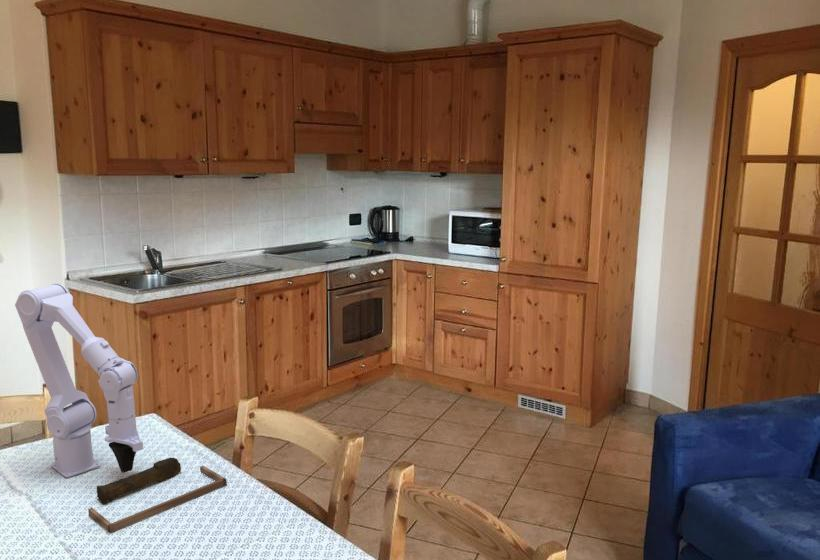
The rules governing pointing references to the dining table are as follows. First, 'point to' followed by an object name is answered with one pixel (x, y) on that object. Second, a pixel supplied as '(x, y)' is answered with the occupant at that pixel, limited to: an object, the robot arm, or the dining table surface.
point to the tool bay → (161, 507)
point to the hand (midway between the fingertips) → (126, 470)
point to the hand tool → (139, 479)
